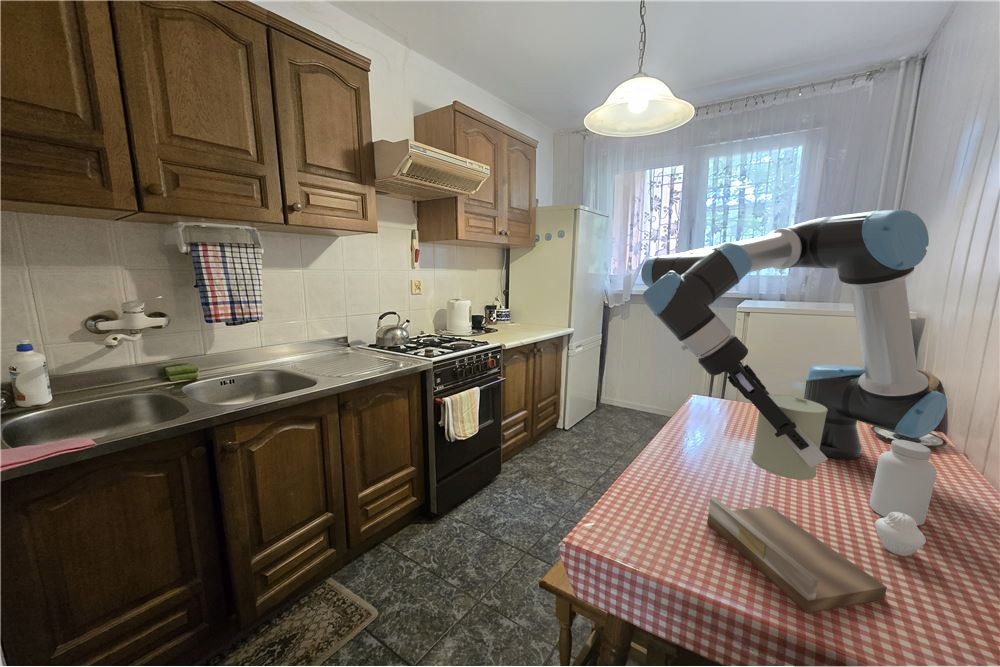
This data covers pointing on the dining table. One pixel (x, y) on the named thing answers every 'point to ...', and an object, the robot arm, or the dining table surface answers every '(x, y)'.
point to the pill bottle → (904, 481)
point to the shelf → (794, 558)
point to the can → (776, 450)
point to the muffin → (900, 534)
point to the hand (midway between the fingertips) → (809, 450)
